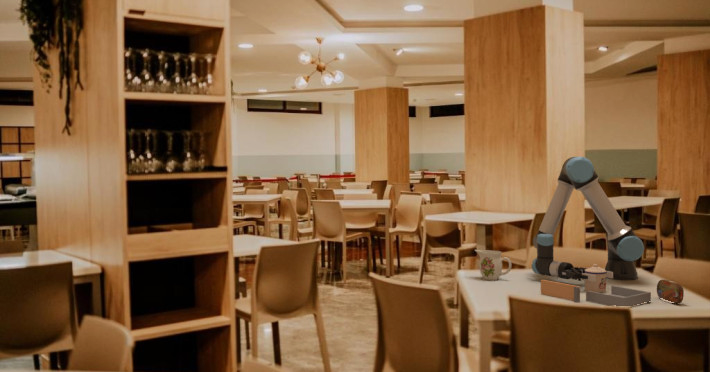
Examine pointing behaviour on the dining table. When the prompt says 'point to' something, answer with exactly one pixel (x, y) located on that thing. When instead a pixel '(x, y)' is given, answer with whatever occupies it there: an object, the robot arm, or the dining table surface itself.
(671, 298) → the tin
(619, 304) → the grey tray
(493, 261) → the pitcher
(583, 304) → the dining table surface
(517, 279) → the dining table surface
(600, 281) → the teacup with lid
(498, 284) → the dining table surface
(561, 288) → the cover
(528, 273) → the dining table surface
